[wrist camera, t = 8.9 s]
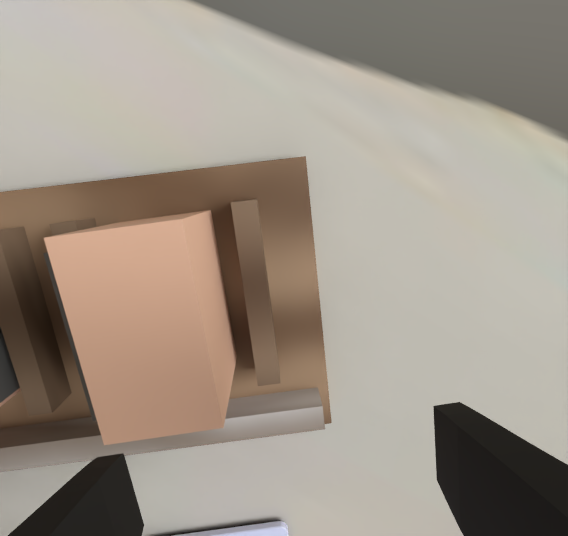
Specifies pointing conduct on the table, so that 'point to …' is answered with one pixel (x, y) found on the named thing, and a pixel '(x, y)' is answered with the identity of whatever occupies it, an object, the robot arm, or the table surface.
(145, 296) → the peach rectangular block
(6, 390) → the pink block
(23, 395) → the walnut rack
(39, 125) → the table surface
